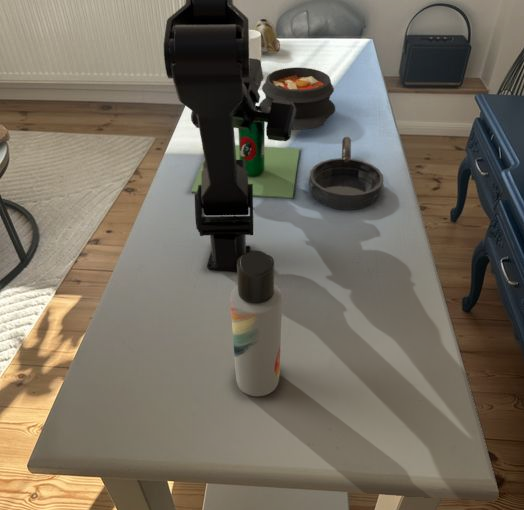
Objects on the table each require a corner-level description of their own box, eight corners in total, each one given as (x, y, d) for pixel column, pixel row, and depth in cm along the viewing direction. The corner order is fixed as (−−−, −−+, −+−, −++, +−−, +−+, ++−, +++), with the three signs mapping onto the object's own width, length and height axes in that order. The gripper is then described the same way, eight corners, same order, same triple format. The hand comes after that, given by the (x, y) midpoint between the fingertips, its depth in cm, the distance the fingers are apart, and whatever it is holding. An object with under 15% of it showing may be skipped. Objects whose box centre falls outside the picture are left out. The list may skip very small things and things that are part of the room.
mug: (235, 66, 141) (233, 24, 133) (263, 66, 141) (263, 25, 133) (230, 81, 133) (228, 38, 125) (260, 82, 133) (259, 39, 125)
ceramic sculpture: (282, 10, 147) (279, 29, 137) (282, 42, 153) (279, 62, 144) (247, 10, 147) (242, 28, 138) (248, 42, 154) (244, 61, 145)
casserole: (338, 138, 110) (343, 100, 104) (257, 138, 110) (257, 99, 104) (330, 95, 127) (334, 59, 120) (259, 94, 127) (259, 59, 121)
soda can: (267, 176, 98) (267, 115, 89) (243, 179, 98) (240, 118, 89) (261, 164, 102) (260, 105, 93) (237, 167, 101) (235, 107, 92)
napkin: (292, 198, 93) (292, 197, 93) (191, 192, 95) (191, 190, 95) (299, 150, 106) (299, 148, 106) (210, 145, 108) (210, 144, 108)
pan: (381, 212, 90) (384, 197, 88) (306, 208, 91) (308, 192, 89) (378, 175, 99) (381, 160, 97) (310, 171, 100) (312, 156, 98)
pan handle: (350, 167, 98) (351, 159, 96) (341, 167, 98) (342, 158, 97) (350, 143, 105) (351, 135, 103) (341, 143, 105) (342, 135, 104)
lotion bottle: (278, 363, 66) (281, 241, 51) (280, 397, 62) (285, 276, 47) (236, 364, 66) (227, 243, 51) (236, 398, 62) (227, 278, 47)
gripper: (296, 52, 77) (309, 98, 92) (189, 40, 81) (219, 86, 97) (280, 122, 78) (295, 156, 93) (176, 107, 82) (207, 142, 98)
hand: (254, 133), depth 95 cm, fingers open, 9 cm apart
